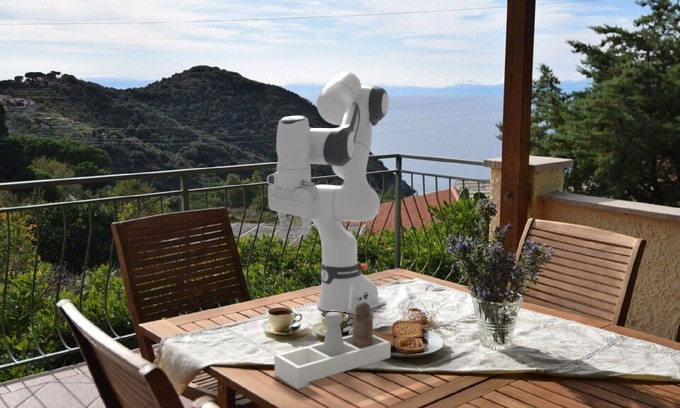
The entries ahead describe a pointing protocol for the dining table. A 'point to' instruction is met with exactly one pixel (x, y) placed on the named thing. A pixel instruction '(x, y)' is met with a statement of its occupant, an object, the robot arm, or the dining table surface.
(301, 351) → the caddy
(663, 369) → the dining table surface
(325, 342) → the salt shaker
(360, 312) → the pepper mill
